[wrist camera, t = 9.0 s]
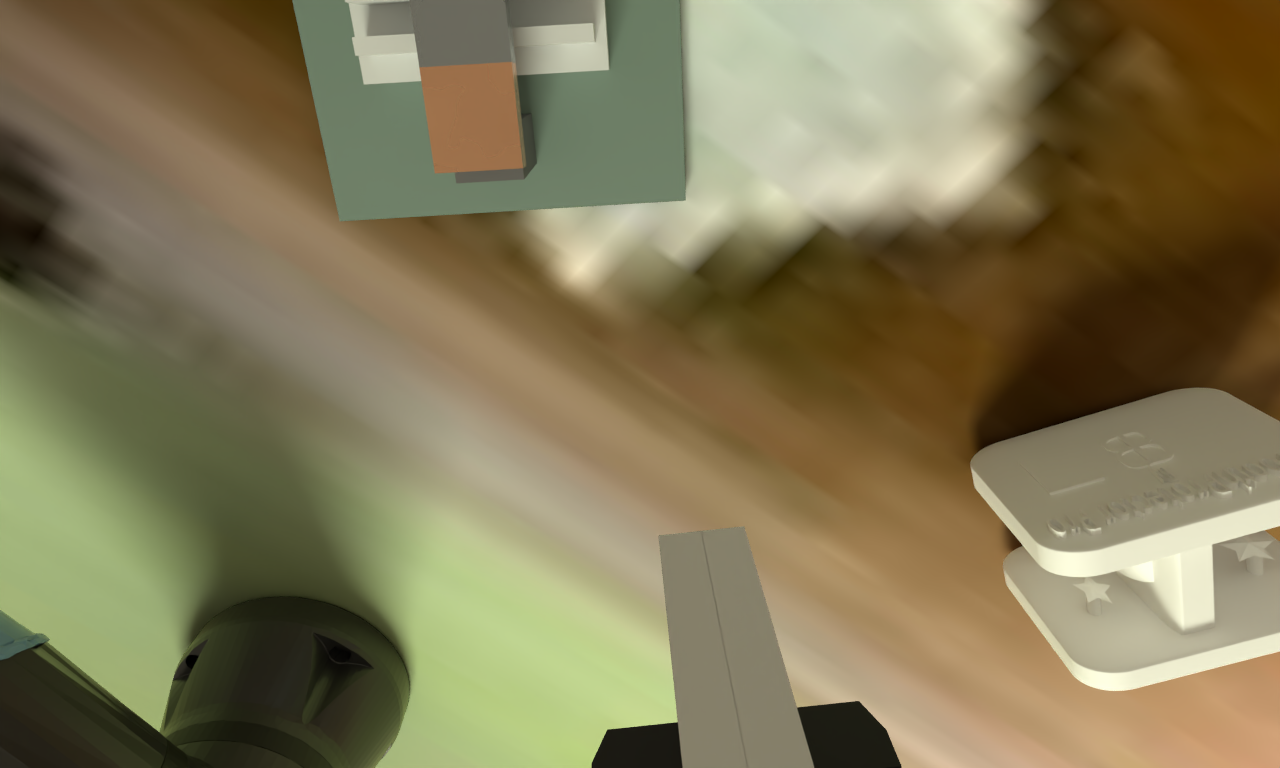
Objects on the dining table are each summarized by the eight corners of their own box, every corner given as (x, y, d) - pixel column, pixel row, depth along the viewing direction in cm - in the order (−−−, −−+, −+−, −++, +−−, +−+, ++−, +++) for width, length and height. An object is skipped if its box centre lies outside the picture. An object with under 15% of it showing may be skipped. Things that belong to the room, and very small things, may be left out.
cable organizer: (979, 571, 51) (1075, 708, 40) (954, 440, 46) (1054, 554, 36) (1206, 507, 49) (1370, 632, 38) (1201, 366, 45) (1382, 462, 34)
